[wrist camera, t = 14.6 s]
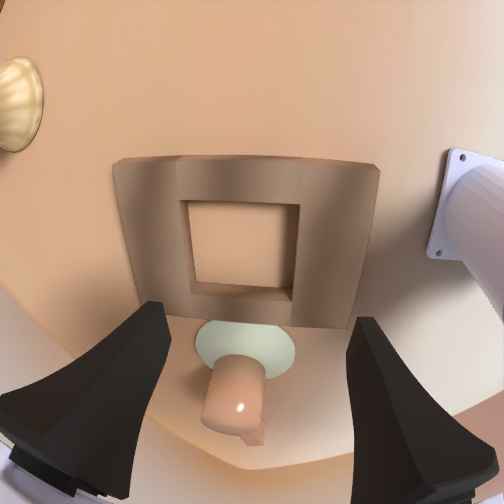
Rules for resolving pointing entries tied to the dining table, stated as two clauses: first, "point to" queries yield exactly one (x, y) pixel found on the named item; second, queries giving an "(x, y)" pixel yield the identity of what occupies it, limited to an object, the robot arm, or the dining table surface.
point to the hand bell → (19, 103)
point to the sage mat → (246, 344)
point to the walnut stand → (249, 190)
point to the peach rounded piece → (236, 398)
